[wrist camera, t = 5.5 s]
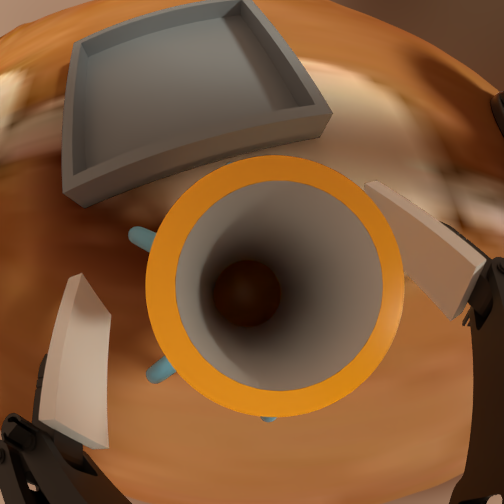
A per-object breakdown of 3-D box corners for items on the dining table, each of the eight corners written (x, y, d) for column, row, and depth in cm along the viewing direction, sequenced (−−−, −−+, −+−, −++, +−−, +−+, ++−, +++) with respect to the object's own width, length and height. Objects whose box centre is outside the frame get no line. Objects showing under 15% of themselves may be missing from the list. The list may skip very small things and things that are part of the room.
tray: (245, 16, 24) (247, -5, 20) (319, 137, 21) (332, 113, 18) (83, 61, 21) (74, 42, 18) (84, 208, 19) (62, 193, 15)
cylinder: (327, 364, 18) (488, 456, 3) (183, 388, 17) (100, 546, 2) (301, 200, 20) (410, 44, 5) (159, 218, 19) (43, 69, 4)
